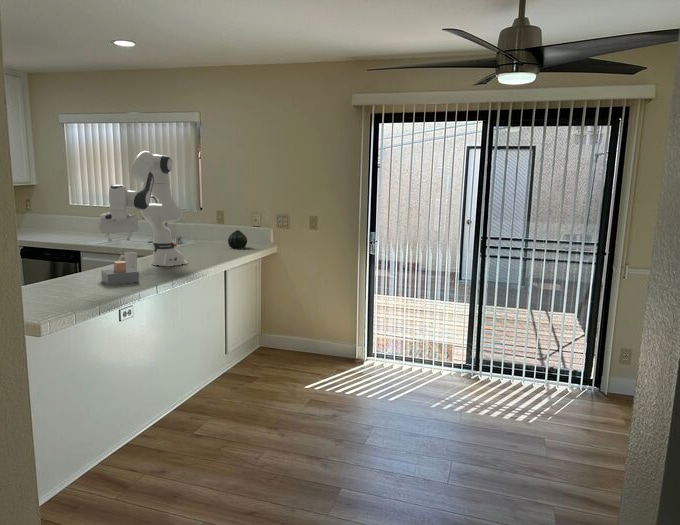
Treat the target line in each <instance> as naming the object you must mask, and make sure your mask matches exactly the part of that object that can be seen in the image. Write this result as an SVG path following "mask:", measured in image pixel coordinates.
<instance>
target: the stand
mask: <svg viewBox="0 0 680 525" xmlns="http://www.w3.org/2000/svg"><path fill="white" fill-rule="evenodd" d="M100 271H101V281H103V283H104V284H105V283H106V284H105V285H106V286H108V285H109V286H116V285H118V284H119V285H126V284H125V283H129V284H135V283H134V282H140V278H139V277H140V272H139V271H138V270H137V271H136V270H135V269H133V268H126V272H115V271H114V268H111V269H102V270H100ZM119 285H118V286H119Z"/></svg>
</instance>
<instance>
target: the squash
mask: <svg viewBox="0 0 680 525" xmlns="http://www.w3.org/2000/svg"><path fill="white" fill-rule="evenodd" d="M227 239H228V240H227V244H228V246H229V247H230V248H231V249H236V248H237V249H239V250H241V249H244V248H245V247H246V246H247V244H248V238H247V236H246V235H245V234H244V233H243V232H242V231H241V230H239V229H237V230H235V231H234V232H232V233H231V234H230V235H229V236H228V238H227ZM240 248H241V249H240Z"/></svg>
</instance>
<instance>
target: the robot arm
mask: <svg viewBox="0 0 680 525" xmlns="http://www.w3.org/2000/svg"><path fill="white" fill-rule="evenodd" d="M172 168H173V161H172V158H171V157H170V156H168V155H165V154H163V155H162V154H153V153H152V152H150V151H148V150H143V151H141V152H140V153H139V154H138V155H136V157H135V159H134V160H133V162H132V164H131V166H130V169H129V170H130V174H131V176H132V178H133V179H135V181H138V182H140V183H143V185H142V187H141V188H142V189H140V190H128V189H126V185H124V184H121V183H120V184H119V183H118V184H112V185H110V186H109V189H108V190H109V191H108V203H109V208H108V210H109V211H108V212H104V213H100V215H99V218H100V219H99V220H98V225H97V231H98V233H99V234H105V236H106V237H107V241H108V242H112V241H113V240H112V237H110V234H114V233H115V234H116V233H128V236H126V238H125V239H126V241H131V237H132V234H133V233H137V232H139V231H140V230H139V229H140V228H139V216H138V215H136V214H128V209H137V210H141V211H140V212H141V216H142V217H143V219H144V220H146V221H147V222H148V224H149V225H150V227H151V229H152V234H153V238H152V239H153V242H152V251H153V253H152V260H151V265H153V266H157V265H159V267H160V266H162V267H172V266H174V265H175V266H181V265H182V264H183V265H188V261H187V260H185V257H184V254H183V253H182V252H180V251H179V250H178V249H177V248H176V247H177V246H178V244H177V243H175V242H172V234H173V233H172V230H171V229H170V228H169V227H168V226H165V224H164V222H177V221H180V220H182V218H183V215H184V214H183V213H184V212H183V209H182V207H181V206H180V205H178V204H177V203H176V201H175V200H174V198H173V196H172V192H171V180H170V179H171V178H170V175H169V174H170V172H172ZM151 196H153V197H154V198H156V199H157V200H159V201H160V203H151V198H152V197H151Z"/></svg>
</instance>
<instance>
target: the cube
mask: <svg viewBox="0 0 680 525" xmlns="http://www.w3.org/2000/svg"><path fill="white" fill-rule="evenodd" d="M113 269H114V271H115V272H126V262H125V260H121V261H119V260H116V261H113Z"/></svg>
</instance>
